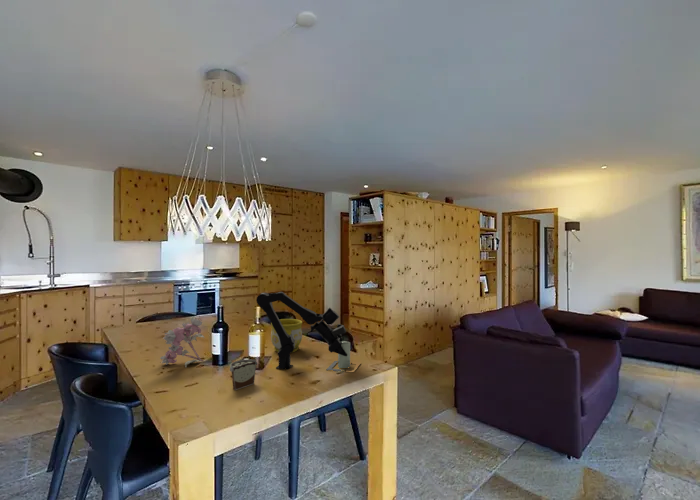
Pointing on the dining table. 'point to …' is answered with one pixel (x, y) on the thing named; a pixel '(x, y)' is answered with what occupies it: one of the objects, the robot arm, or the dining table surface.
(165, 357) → the flower
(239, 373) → the food container
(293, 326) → the flowerpot
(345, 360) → the sage cup
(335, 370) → the dot frame
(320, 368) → the dining table surface
